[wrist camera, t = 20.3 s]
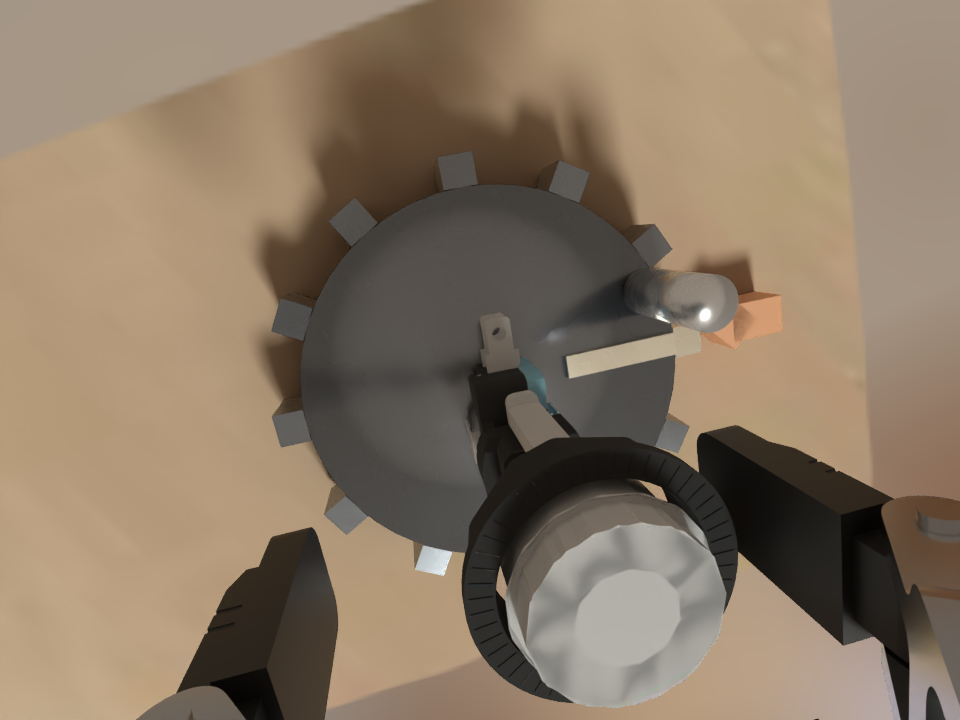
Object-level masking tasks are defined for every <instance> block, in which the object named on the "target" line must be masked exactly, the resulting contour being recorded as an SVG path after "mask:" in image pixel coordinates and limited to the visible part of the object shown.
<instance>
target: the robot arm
mask: <svg viewBox="0 0 960 720" xmlns="http://www.w3.org/2000/svg"><path fill="white" fill-rule="evenodd" d="M697 454H698V465H699V473H700V474H701V475H702V476H703V477H704V478H705V479H706V480H707V481H708V482H709V483H710V484H711V485H712V486H713V487H714V488H715V490H716V491H717V492H718V493H719V495H720V497H721V498H722V500H723V501H724V503H725V505H726V507H727V509H728V511H729V513H730V515H731V518H732V521H733V525H734V528H735V533H736V538H737V547H738V552H739V553H741V554H742V555H743V556H744V557H745V558H746V559H747V560H748V561H749V562H751V563H752V564H753V565H754V566H755V567H756V568H757V569H758V570H760V571H761V572H762V573H763V574H764V575H765V576H766V577H767V578H768V579H770V580H771V581H772V582H773V583H774V584H775V585H776V586H777V587H779V588H780V589H781V590H782V591H783V592H784V593H785V594H786V595H787V596H789V597H790V598H791V599H792V600H793V601H794V602H795V603H796V604H797V605H799V606H800V607H801V608H802V609H803V610H804V611H805V612H806V613H808V614H809V615H810V616H811V617H812V618H813V619H814V620H815V621H816V622H818V623H819V624H820V625H821V626H822V627H823V628H824V629H825V630H827V631H828V632H829V633H830V634H831V635H832V636H833V637H834V638H835V639H836V640H838V641H839V642H840V643H841V644H842V645H847V644H850V643H854V642H857V641H860V640H863V639H867V638H870V637H876V638H877V639H878V640H879V641H880V642H881V663H882V668H883V671H884V676H885V681H886V686H887V691H888V695H889V699H890V704H891V709H892V713H893V718H894V720H960V501H957V500H953V499H949V498H942V497H934V496H906V497H900V498H896V499H893V498H891V497H889V496H887V495H885V494H884V493H882V492H880V491H878V490H876V489H874V488H872V487H870V486H868V485H866V484H864V483H862V482H860V481H858V480H856V479H854V478H852V477H850V476H848V475H846V474H844V473H842V472H840V471H837V472H836V471H835V468H833V467H831V466H829V465H827V464H825V463H823V462H817V459H815V458H813V457H811V456H809V455H807V454H805V453H803V452H801V451H799V450H797V449H795V448H792V447H788V446H784V445H780V444H776V443H772V442H768V441H766V440H765V439H763V438H761V437H759V436H757V435H755V434H753V433H751V432H749V431H748V430H746V429H744V428H742V427H740V426H736V425H734V426H730V427H726V428H722V429H717V430H713V431H709V432H705V433H702V434H700V435H699V437H698V440H697ZM207 630H208V633H207V634H205V635H204V637H203V639H202V641H201V643H200V646H199V648H198V650H197V652H196V654H195V656H194V658H193V660H192V662H191V664H190V666H189V668H188V670H187V672H186V674H185V676H184V678H183V680H182V682H181V685H180V687H179V689H178V691H177V693H176V694H174V695H172V696H170V697H168V698H166V699H164V700H163V701H161V702H159V703H158V704H156V705H154V706H153V707H152V708H150V709H149V710H148V711H146V712H145V713H144V714H142V715H141V716H140V717H139V718H138V719H136V720H324V719H325V712H326V706H327V699H328V692H329V686H330V679H331V672H332V666H333V659H334V652H335V645H336V639H337V632H338V613H337V605H336V599H335V595H334V591H333V588H332V585H331V581H330V578H329V574H328V571H327V567H326V564H325V560H324V557H323V553H322V550H321V546H320V543H319V540H318V536H317V534H316V532H315V530H314V529H313V528H312V527H310V528H306V529H302V530H298V531H294V532H290V533H285V534H281V535H277V536H273V537H272V538H271V539H270V542H269V544H268V546H267V549H266V551H265V553H264V556H263V558H262V560H261V563H260V565H259V567H256V568H252V569H248V570H246V571H245V572H244V573H243V574H242V575H241V576H240V577H239V578H238V579H237V580H236V581H235V582H234V583H233V584H232V585H231V586H230V587H229V588H228V589H227V590H226V592H225V594H224V596H223V598H222V600H221V602H220V605H219V607H218V609H217V611H216V615H215V616H214V617H213V619H212V621H211V623H210V625H209V627H208V629H207ZM815 720H819V719H815Z"/></svg>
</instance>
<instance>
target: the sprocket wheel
mask: <svg viewBox="0 0 960 720" xmlns="http://www.w3.org/2000/svg"><path fill="white" fill-rule="evenodd" d="M433 167H434V173H435V178H436V183H437V188H438V193H437V194H434V195H431V196H429V197H426V198H424V199H422V200H419V201H417V202H414V203H412V204H409V205H408V206H406V207H404V208H403V209H401V210H399V211H397V212H396V213H394V214H392V215H391V216H389V217H387V218H386V219H384V220H383V221H382V222H380V223H379V224H378V222H377V221H376V220H375V219H374V218H373V217H372V216H371V215H370V213H369V212H368V211H367V210H366V209H365V208H364V207H363V205H362V204H361V203H360V202H359V201H358V200H357V199H356V198H354V199H353V200H352V201H351V202H349V203H348V204H347V205H346V206H345V207H344V208H343V209H342V210H341V211H339V212H338V213H337V214H336V215H335V216H334V217H333V218H332V219H331V220H329V221H328V222H329V223H330V224H331V225H332V226H333V227H334V228H335V229H336V230H337V231H338V232H339V234H340V235H341V236H342V237H343V238H344V239H345V240H346V241H347V242H348V243H349V245H350V246H351V247H352V248H351V249H350V250H349V251H348V253H347V254H346V255H345V256H344V257H343V259H342V260H341V261H340V263H339V264H338V266H337V267H336V268H335V270H334V271H333V272H332V274H331V275H330V277H329V278H328V280H327V282H326V284H325V286H324V288H323V290H322V291H321V293H320V295H319V297H318V299H317V300H315V299H312V298H309V297H306V296H303V295H299V294H296V293H291V294H289V295H286V296H284V297H282V298H281V299H280V302H279V306H278V309H277V313H276V316H275V320H274V323H273V327H272V330H271V331H272V332H275V333H278V334H282V335H285V336H288V337H292V338H295V339H298V340H302V341H303V340H304V339H305V340H304V344H303V349H302V360H301V373H300V379H301V394H302V396H297V397H292V398H288V399H284V401H283V402H282V403H281V405H280V406H279V408H278V409H277V410H276V412H275V413H274V414H273V416H272V419H273V422H274V426H275V429H276V432H277V436H278V439H279V442H280V446H281V447H286V446H290V445H294V444H299V443H303V442H308V441H311V440H312V441H313V443H314V446H315V449H316V451H317V453H318V454H319V456H320V458H321V460H322V462H323V464H324V466H325V468H326V470H327V471H328V472H329V474H330V475H331V477H332V478H333V479H334V481H335V482H336V485H335V486H334V487H333V488H331V491H330V495H329V498H328V502H327V506H326V509H325V513H324V515H325V516H326V517H327V518H328V519H329V520H330V521H331V522H333V523H334V524H335V525H336V526H337V527H338V528H339V529H340V530H342V531H343V532H344V533H345V534H346V535H347V534H348V533H350V532H351V531H352V530H353V529H354V528H355V527H356V526H358V525H359V524H360V523H361V522H362V521H363V520H364V519H366V518H367V517H368V516H370V517H371V518H372V519H373V520H375V521H376V522H378V523H379V524H381V525H383V526H384V527H386V528H388V529H389V530H391V531H393V532H394V533H396V534H399V535H401V536H403V537H405V538H408V539H410V540H412V541H413V543H414V563H415V570H419V571H424V572H429V573H433V574H438V575H442V576H444V573H445V570H446V568H447V565H448V562H449V559H450V557H451V554H452V551H455V552H463V553H466V550H467V547H468V533H469V525H470V523H471V521H472V519H473V517H474V516H475V514H476V513H477V511H478V510H479V508H480V507H481V505H482V504H483V502H484V501H485V499H486V498H487V493H486V489H485V485H484V483H483V480H482V477H481V474H480V472H479V468H478V464H476V462H475V460H474V457H473V454H472V451H471V448H470V443H469V438H468V433H467V427H466V420H465V419H468V421H469V424H470V426H471V429H472V431H479V430H480V428H479V422H478V418H477V415H476V411H475V407H474V404H473V400H472V396H471V392H470V386H469V380H468V376H469V375H474V374H476V369H475V366H479V365H483V364H482V358H481V352H480V349H484V342H483V336H482V330H481V324H480V317H481V316H483V315H488V314H494V313H499V312H501V313H502V314H503V315H504V316H506V317H508V318H509V320H510V326H511V333H512V340H513V346H514V349H519V354H520V358H521V357H525V358H526V359H527V360H528V361H530V362H531V363H532V364H533V365H534V366H535V367H536V368H539V369H540V370H541V372H542V373H543V376H544V380H545V386H546V393H547V395H546V401H547V404H548V402H551V403H552V404H553V405H554V407H555V408H556V409H557V410H558V411H559V413H562V416H563V417H564V418H565V419H566V420H567V421H568V422H569V423H570V424H571V425H572V426H573V428H574V429H575V430H576V431H577V433H578V434H579V436H580V437H627V438H630V439H632V440H633V441H635V442H637V443H642V444H646V445H650V446H653V447H654V446H656V447H660V448H663V449H666V450H670V451H673V452H676V453H678V452H679V450H680V447H681V445H682V443H683V440H684V438H685V436H686V433H687V431H688V429H689V426H688V425H687V424H685V423H684V422H682V421H680V420H679V419H677V418H676V417H674V416H673V415H671V414H669V413H668V410H669V405H670V400H671V396H672V391H673V384H674V373H675V358H677V357H681V356H686V355H690V354H694V353H699V352H702V350H701V338H700V332H703V333H713V332H717V331H719V330H721V329H723V328H725V327H726V326H727V325H728V324H729V323H730V322H731V321H732V319H733V318H734V316H735V314H736V312H737V309H738V303H739V297H738V292H737V289H736V287H735V285H734V284H733V283H732V281H731V280H729V279H728V278H727V277H725V276H722V275H718V274H708V273H698V272H688V271H678V270H668V269H658V268H652V267H653V266H654V265H655V264H656V263H657V262H658V261H660V260H661V259H662V258H663V257H664V256H665V255H666V254H668V253H669V252H670V251H671V250H672V248H671V246H670V245H669V244H668V242H667V241H666V239H665V238H664V237H663V235H662V234H661V232H660V231H659V230H658V228H657V227H656V225H655V224H646V225H632V226H629V227H627V228H626V229H625V230H624V231H623V232H622V233H619V232H618V231H617V230H616V229H615V228H614V227H613V226H612V225H610V224H609V223H608V222H607V221H606V220H604V219H603V218H601V217H600V216H598V215H597V214H595V213H594V212H592V211H591V210H589V209H588V208H586V207H584V206H582V205H580V204H577V203H579V202H580V199H581V197H582V194H583V191H584V188H585V186H586V183H587V180H588V177H589V175H590V173H589V172H587V171H585V170H582V169H580V168H577V167H575V166H572V165H570V164H568V163H565V162H563V161H560V160H559V161H557V162H555V163H553V164H551V165H549V166H547V167H545V168H543V170H542V173H541V176H540V179H539V181H538V184H537V187H536V189H535V188H529V187H523V186H517V185H495V184H486V185H478V181H477V176H476V170H475V164H474V159H473V153H472V151H469V152H463V153H457V154H452V155H446V156H440V157H437V159H436V161H435V163H434V166H433ZM476 185H477V186H476ZM499 330H500V328H496V329H494V331H493V333H492V335H496V334H498V332H499ZM547 408H548V407H547Z"/></svg>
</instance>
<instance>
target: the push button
mask: <svg viewBox="0 0 960 720" xmlns="http://www.w3.org/2000/svg"><path fill="white" fill-rule="evenodd" d="M480 324H481V330H482V336H483V342H484V349H480V352H481V358H482V364H483V365H479V366H475V369H476V374H474V375H469V376H468V380H469V386H470V392H471V396H472V400H473V404H474V407H475V411H476V415H477V418H478V422H479V428H480V430H479V431H472V429H471V426H470V424H469V421H468V419H465V420H466V427H467V433H468V438H469V443H470V448H471V451H472V454H473V457H474V460H475V462H476V464H478V468H479V472H480V474H481V477H482V480H483V483H484V485H485V489H486V493H487V498H486V499H485V501H484V502H483V504H482V505H481V507H480V508H479V510H478V511H477V513H476V514H475V516H474V517H473V519H472V521H471V523H470V525H469V533H468V547H467V550H466V553H465V558H464V563H463V570H462V597H463V603H464V609H465V615H466V620H467V624H468V627H469V630H470V633H471V636H472V638H473V640H474V643H475V645H476V646H477V648H478V650H479V651H480V653H481V655H482V656H483V658H484V659H485V660H486V661H487V662H488V664H489V665H490V666H491V667H492V668H493V669H494V670H495V671H496V672H497V673H498V674H499V675H500V676H501V677H503V678H504V679H505V680H507V681H508V682H509V683H511V684H513V685H514V686H516V687H517V688H519V689H521V690H523V691H525V692H528V693H530V694H532V695H535V696H538V697H541V698H545V699H548V700H553V701H558V702H567V703H578V704H584V705H586V706H588V707H595V706H602V707H610V708H620V707H623V706H627V705H638V704H640V703H642V702H644V701H646V700H648V699H652V698H656V697H659V696H660V695H662V694H663V693H665V692H666V691H667V690H669V689H670V688H672V687H673V686H675V685H677V684H678V683H680V682H682V681H684V680H685V679H686V678H687V677H688V675H690V674H691V673H692V672H693V671H695V670H696V669H697V667H698V666H699V664H700V663H701V661H702V660H703V658H704V657H705V655H706V654H707V652H708V650H709V649H710V648H711V646H713V644H714V643H715V642H716V641H717V637H718V636H719V633H720V628H721V622H722V617H723V614H724V611H725V609H726V607H727V605H728V602H729V600H730V597H731V594H732V591H733V587H734V583H735V579H736V573H737V566H738V547H737V538H736V533H735V528H734V525H733V521H732V518H731V515H730V513H729V511H728V509H727V507H726V505H725V503H724V501H723V500H722V498H721V497H720V495H719V493H718V492H717V491H716V490H715V488H714V487H713V486H712V485H711V484H710V483H709V482H708V481H707V480H706V479H705V478H704V477H703V476H702V475H701V474H700V473H698V472H697V471H696V470H695V469H693V468H692V467H691V466H689V465H688V464H687V463H685V462H684V461H682V460H681V459H679V458H678V457H676V456H674V455H672V454H670V453H669V452H666V451H664V450H661V449H659V448H656V447H653V446H650V445H646V444H642V443H637V442H635V441H633V440H632V439H630V438H627V437H580V436H579V434H578V433H577V431H576V430H575V429H574V428H573V426H572V425H571V424H570V423H569V422H568V421H567V420H566V419H565V418H564V417H563V416H562V413H559V411H558V410H557V409H556V408H555V407H554V405H553V404H552V403H551V402H548V404H547V401H546V395H547V393H546V386H545V380H544V376H543V373H542V372H541V370H540V369H539V368H536V367H535V366H534V365H533V364H532V363H531V362H530V361H528V360H527V359H526V358H525V357H521V358H520V354H519V349H514V346H513V340H512V333H511V326H510V320H509V318H508V317H506V316H504V315H503V314H502V313H501V312H499V313H494V314H488V315H483V316H481V317H480ZM496 328H500V330H499V332H498V334H496V335H492V333H493V331H494V329H496ZM547 407H548V408H547ZM639 480H641V481H645V482H649V483H652V484H655V485H657V486H660V487H662V489H663V491H664V493H665V496H666V498H667V501H668V502H666V501H664V500H661V499H658V498H656V497H655V496H654V495H653V494H652V493H651V492H650V491H649V490H648V489H647V488H646V487H645V486H644V485H643V484H642V483H641V482H640V481H639ZM500 565H501V569H502V572H503V575H504V578H505V581H506V584H507V590H506V600H504V599H503V598H502V597H501V596H500V595H499V593H498V592H497V590H496V583H497V577H498V572H499V567H500Z"/></svg>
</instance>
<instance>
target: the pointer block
mask: <svg viewBox="0 0 960 720" xmlns="http://www.w3.org/2000/svg"><path fill="white" fill-rule="evenodd" d="M738 297H739V303H738V309H737V312H736V314H735V316H734V318H733V319H732V321H731V322H730V323H729V324H728V325H727V326H726V327H725V328H723V329H721V330H719V331H717V332H713V333H703V332H700V333H701V334H702V335H704V336H705V337H706V338H708V339H709V340H710V341H712V342H714V343H717V344H720V345H723V346H726V347H729V348H733V349H735V348H736V347H737V346H738V344H739V343H740V342H741V340H745V339H750V338H754V337H758V336H763V335H767V334H772V333H776V332H781V331H783V328H782V307H781V295H776V294H769V293H762V292H751V293H746V294H741V295H738Z"/></svg>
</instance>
